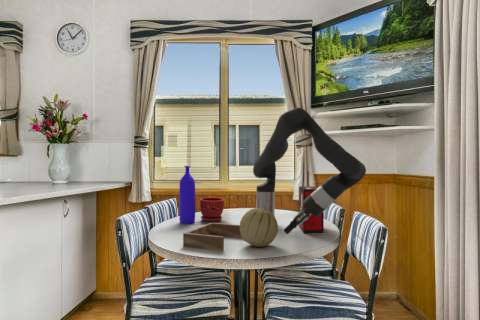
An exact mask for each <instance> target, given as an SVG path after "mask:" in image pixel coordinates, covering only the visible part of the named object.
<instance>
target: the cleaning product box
mask: <svg viewBox="0 0 480 320" xmlns="http://www.w3.org/2000/svg"><path fill="white" fill-rule="evenodd" d="M318 187H319V186H298V212H299V211H300V210H302V209H304V210H305V209H306V208H305V206H304V205H303V201H304V200H305V199H306V198H307V197H308V196H309V195H310V194H311V193H312V192H314V191H315V190H316V189H317V188H318ZM324 212H325V211H323V212H322V213H321V214H320V215H319V216H318V217H315V216H313V215H312V214H309V216H310V217H309V218H308V219H307V220H306V221H304V222H303V223H302V224H301V225H298V227H299V229H300V230H301V231H302V233H303V234H304V235H305V234H308V233H325V232H324V229H325V228H324V222H325V221H324V217H325V216H324Z"/></svg>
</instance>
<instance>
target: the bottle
mask: <svg viewBox="0 0 480 320" xmlns="http://www.w3.org/2000/svg"><path fill="white" fill-rule="evenodd" d="M190 167H191V165H184V168H185V172H184V175H182V177H181V178H180V180H179V191H178V192H179V197H178V198H179V200H178V203H179V205H178V206H179V209H178V210H179V212H178V213H179V223H180V224H181V223H182V224H181V225H191V224H192V223H193V224H194V223H195V221H196V181H195V179H194V177H193V176H192V175H191V173H190Z"/></svg>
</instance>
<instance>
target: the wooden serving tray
mask: <svg viewBox="0 0 480 320" xmlns="http://www.w3.org/2000/svg"><path fill="white" fill-rule="evenodd" d="M182 236H183V237H182V247H184V248H195V249H202V250H211V251H219V252H220V251H221V252H223V251H225V250H224V247H225V243H224V242H225V241H224V240H225V239H224V238H225V237H231V238H232V237H234V238H242V236H241V233H240V224H232V223H231V224H230V223H220V222H219V223H218V222H209V223H207V224H205V225H202V226H198V227H197V228H196V227H195V228H194V229H191V230H188V231H185V232H183V235H182Z"/></svg>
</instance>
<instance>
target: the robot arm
mask: <svg viewBox="0 0 480 320" xmlns="http://www.w3.org/2000/svg"><path fill="white" fill-rule="evenodd" d="M303 130H304V131H305V132H307V133H309V135H311V137H312V141H313V145H314V148H315V149H316V151H317V152H318V154H320V155H321V157H323V158H324V159H325V160H326V161H327V162H329V164H332V165H333V166H334V168H336V170H338V172H339V173H338V174H336V175H331V176H330V177H328V178H327V179H326V180H325V181H324V182H323V183H322V184H321V185H320V186H317V187H318V188H317V189H316V190H315V191H314V192H312V193H311V194H310V195H309V196H308V197H307V198H306V199H305V200H304V201H303V205H304V206H305V208H306V209H305V210H304V209H302V210H300V211H299V210H298V213H297V214H296V215H295V216H294V217H293V220H291V221H290V223H289V224H288V225H287V226H286V227H285V228H284V229H283V232H284V233H285V234H286V235H289V234H290V233H291V232H292V231H293V230H294V229H295V228H297V227H299V225H301V224H302V223H303V222H304V221H306V220H307V219H308V218H309V217H310V216H309V214H312V215H313V216H315V217H318V216H319V215H320V214H321V213H322V212H323V211H324V212H325V211H326V210H327V209H328V208H329V207H330V206H331V205H332V204H333V203H334V202H335V200H337V198H339V197H340V196H341V195H342V194H343V193H344V192H345V191H346V190H349V189H351V188H352V187H353V186H355V185H356V184H358V183H359V182H360V181H362V180H363V178H364V177H365V176H366V172H367V169H366V166H365V164H364V163H363V162H362V161H361V160H359V159H357V158H356V157H355V156H354V155H352V154H351V153H349V152H348V151H346V149H345V148H344V147H343V146H342V145H340V144H339V143H338V142H337V141H335V140H334V139H332V137H330V136H329V134H327V133H326V132H325V131H324V129H323V128H322V127H321V126H320V125H319V124H318V123H317V121H316V120H314V118H313V117H312V116H311V114H309V113H308V112H307V110H305V109H304V108H302V107H295V108H292V109H289V110H287V111H284V112H283V113H282V114H280V116H279V117H278V119H277V123H276V126H275V129H274V130H273V133H272V135H271V136H270V137H269V140H268V141H267V143H266V145H265V147H264V149H263V151H262V153H261V154H260V155H259V156H258V158H257V159H255V162H254V164H253V167H252V172H253V175H254V176H255V178H257V179H266V180H265V181H263V183H260V184H258V185H257V186H256V208H259V209H263V208H264V207H265V208H266V210H267V211H268V212H270V213H272V214H273V215H274V217H275V214H276V212H275V210H276V209H275V206H276V205H275V197H276V195H275V192H276V191H275V190H276V189H275V188H276V175H277V174H276V173H277V165H276V162H278V161H280V160H281V159H282V158H283V157H284V156H285V154H286V152H287V151H288V149H289V141H288V139H289V138H290V137H291V136H292V135H293V134H296V133H298V132H300V131H303ZM275 218H276V217H275Z"/></svg>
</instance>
